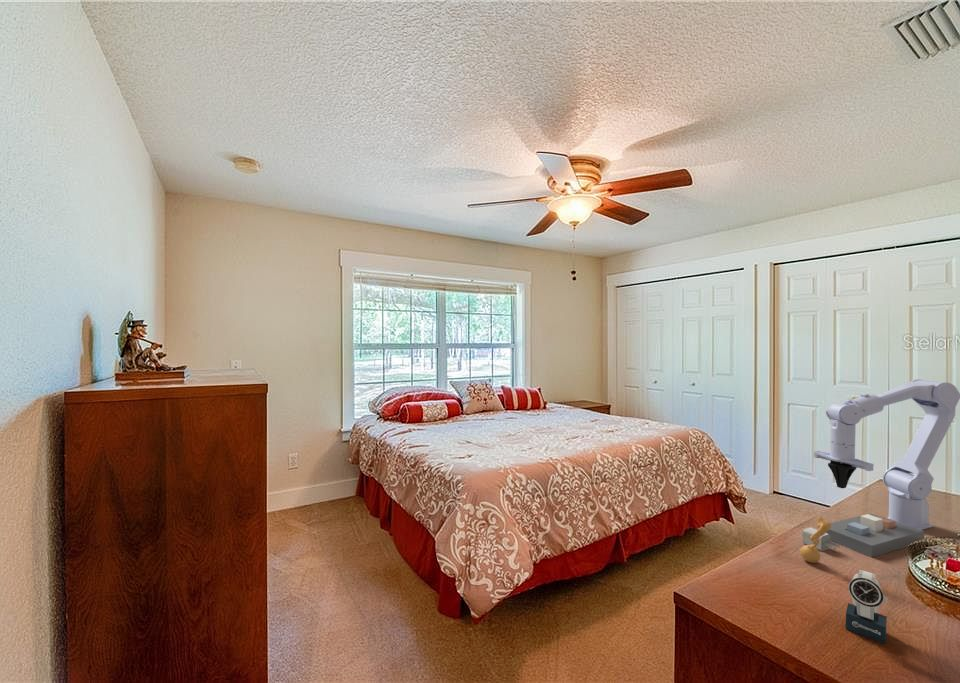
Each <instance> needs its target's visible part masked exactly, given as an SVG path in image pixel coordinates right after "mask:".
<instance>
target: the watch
mask: <svg viewBox="0 0 960 683" xmlns="http://www.w3.org/2000/svg"><path fill="white" fill-rule="evenodd" d="M876 575H877V574H876V573H872V572H869V571H865V570H864V569H863V570H862V569H859V571H858V573H855V574H854V576H853V578H852V579H851V580H850V582H849V583H848V591H849V594H850V596H851V600H852V602H853V604H852V603H847V607H846V612H845V629H846V630H848V631H850V632H853V633H856V634H858V635H861V636H863V637H865V638H868V639H871V640H873V641H876V642H879V643H882V644H884V645H886V644H887V643H886V642H887V622H888V620H887V619H888V618H887V616H886V615H884V614H881V613H878V611H879V610H880V607H882V605H883V604H884V602H888V596H885V595H884V592H883V590H882V587H881V585H880V582H879V580H878V579H877V578H876Z"/></svg>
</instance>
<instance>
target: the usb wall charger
mask: <svg viewBox="0 0 960 683" xmlns="http://www.w3.org/2000/svg"><path fill="white" fill-rule="evenodd" d="M817 531H818V529H816V528H815V527H806V528H804V529H803V531H802V544H804V545H811V544H812V545H814V543H813V542H812V540H811V539H809V538H810V536H812V535H813V534H814V533H816V532H817ZM817 539H818V540H819V544H818V545H817V546H816V547H815V548H816V549H817V550H818V551H821V552H823V551H826V550H829V549H834V550H835V549H836V548H840V544H838V543H835V542H833V541H830V535H829V534H827V533H825V534H824V535H822V536H820V537H819V538H817ZM814 540H815V539H814Z"/></svg>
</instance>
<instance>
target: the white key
mask: <svg viewBox="0 0 960 683" xmlns="http://www.w3.org/2000/svg"><path fill="white" fill-rule="evenodd" d="M869 514H870V513H868V514H862V515H859V516H860V524H861V525H864V526H867V527H870V529H869V530H870V531H873V532H875V533H877V532H881V531H883V519H881V518H878V517H875V516H872V515H869Z"/></svg>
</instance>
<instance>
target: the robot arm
mask: <svg viewBox="0 0 960 683" xmlns="http://www.w3.org/2000/svg"><path fill="white" fill-rule="evenodd" d="M907 400H912V401H913V402H915V403H916V404H917V405H918V406H919V407H920V408H921V409H923V411H924V413H925V415H924V417H923V419H922V420H921V423H920V425H919V427H918V429H917V431H916V433H915V435H914V437H913V438H912V441H911V442H910V445H909V446H908V449H907V451H906V452H905V454H904V456H903V458H902V459H900V460H898V461H895V462H892V464H891V466H890V467H889V468H888V469H886V470H885V471H884V472H883V474H882V481H883V484H884V485H885V486H887V491H888V516H887V517H886V518H888V519H891V520H894V521H896V522H899V523H902V524H905V525H908V526H911V527H914V528H917V529H920V530H923V531H924V530H926V529H930V528H933V524H931V523H929V521H930V519H929V518H930V517H929V516H930V505H929V502H928V500H927V499H926V498H928V497H929V496H930V495H931V493H932V487H933V486H932V485H933V481H934V476H933V475H932V474H931V472H930V471H929V470H928V469H929V467H930V466H931V463H932V461H933V459H934V458H935V456H936V453H937V452H938V450H939V448H940V446H941V443H943V440H944V439H945V437H946V435H947V432H948V430H949V429H950V426H951V424H952V422H953V421H954V418H955V416H956V409H957V408H956V407H957V405H958V403H959V401H960V392H959V389H958V388H957V386H956V385H954V384H953V383H950V382H946V381H945V382H940V381H930V380H924V379H918V378H917V379H913V380H911V381H906V382H904V384H902V385H899V386H897V387H895V388H891V389H890V390H887V391H885V392H882V393H880V394H878V395H875V394H873V393H865V392H864V393H860V396H859V397H855V398H853V399H851V400H850V399H846V400H844V402H843V403H841V402H835V403H832V404H831V405H829V406H828V408H827V410H825V415H826V417H827V418H828V419H829V424H830V443H829V444H830V446H829V449H830V450H829V452H825V451H820V450H816V451H814V452H813V457H814V458H816V459H822V460H825V461H829V462H828V463H827V466H828V468H829V469H830V471H831V473H832V475H833V477H834V479H835V484H836V487H837V488H839V489H846V488H847V486H848V483H849V481H850V478H851V477H852V475H853V474H854V472H855V471H856V470H857V468H858V469H861V470H864V471H867V472H872V471H874V463H871V462H868V461H864V460H861V459H858V458H856V429H857V428H856V425H857V424H859V423H860V422H861V420H862V419H863V418H866V417H869V416H871V415H874V414H878V413H881V412H883V410H884V407H886V406H889V405H893V404H896V403H900V402H903V401H907Z"/></svg>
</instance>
